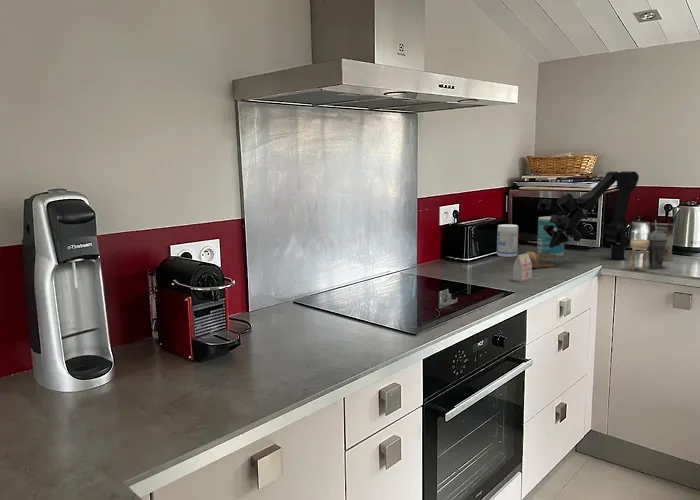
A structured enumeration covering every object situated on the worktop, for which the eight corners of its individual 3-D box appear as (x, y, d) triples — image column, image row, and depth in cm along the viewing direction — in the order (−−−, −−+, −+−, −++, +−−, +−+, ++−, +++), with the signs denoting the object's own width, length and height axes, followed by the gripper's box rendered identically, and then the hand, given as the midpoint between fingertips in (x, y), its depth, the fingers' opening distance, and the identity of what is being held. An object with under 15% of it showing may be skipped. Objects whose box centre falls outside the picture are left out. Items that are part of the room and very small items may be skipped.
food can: (565, 257, 261) (566, 219, 258) (538, 257, 264) (539, 219, 261) (562, 253, 272) (563, 216, 269) (536, 252, 275) (537, 216, 272)
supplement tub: (492, 255, 271) (493, 225, 269) (505, 253, 277) (505, 223, 274) (509, 258, 263) (509, 227, 261) (521, 255, 269) (522, 225, 267)
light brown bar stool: (628, 267, 235) (630, 238, 233) (647, 268, 232) (649, 239, 230) (629, 270, 229) (630, 241, 227) (648, 271, 226) (650, 242, 224)
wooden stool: (547, 250, 245) (524, 250, 241) (557, 253, 239) (534, 252, 235) (545, 266, 246) (522, 266, 242) (556, 269, 240) (532, 269, 236)
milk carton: (513, 280, 218) (513, 254, 216) (523, 277, 222) (523, 252, 220) (521, 281, 215) (521, 256, 213) (531, 278, 219) (532, 253, 217)
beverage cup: (669, 269, 229) (672, 220, 226) (651, 269, 230) (654, 220, 226) (659, 265, 237) (662, 218, 233) (642, 266, 237) (645, 219, 233)
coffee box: (647, 259, 250) (649, 224, 247) (648, 257, 255) (650, 222, 252) (671, 261, 245) (673, 225, 242) (671, 259, 250) (674, 223, 247)
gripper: (547, 206, 249) (525, 232, 247) (577, 209, 231) (554, 237, 230) (561, 222, 253) (540, 248, 251) (591, 227, 235) (569, 255, 234)
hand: (550, 247), depth 241 cm, fingers closed
